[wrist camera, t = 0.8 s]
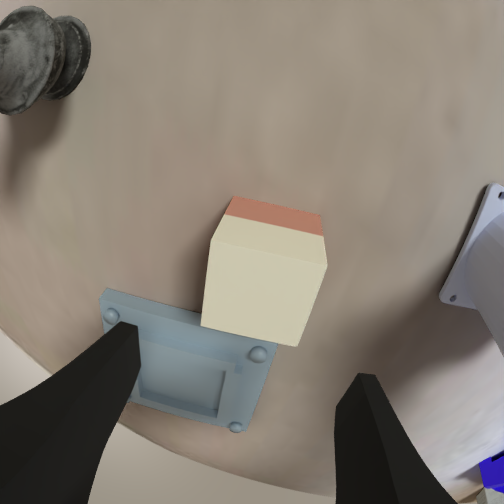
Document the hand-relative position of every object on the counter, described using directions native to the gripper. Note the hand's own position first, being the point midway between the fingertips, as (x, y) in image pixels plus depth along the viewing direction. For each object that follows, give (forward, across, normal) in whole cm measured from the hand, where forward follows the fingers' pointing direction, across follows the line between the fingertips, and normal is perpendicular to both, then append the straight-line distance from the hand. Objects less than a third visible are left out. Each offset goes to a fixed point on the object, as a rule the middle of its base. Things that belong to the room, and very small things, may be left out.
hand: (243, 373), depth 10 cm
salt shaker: (+9, +14, -9) cm, 19 cm away
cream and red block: (+9, 0, 0) cm, 9 cm away
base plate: (+9, +4, +12) cm, 15 cm away
